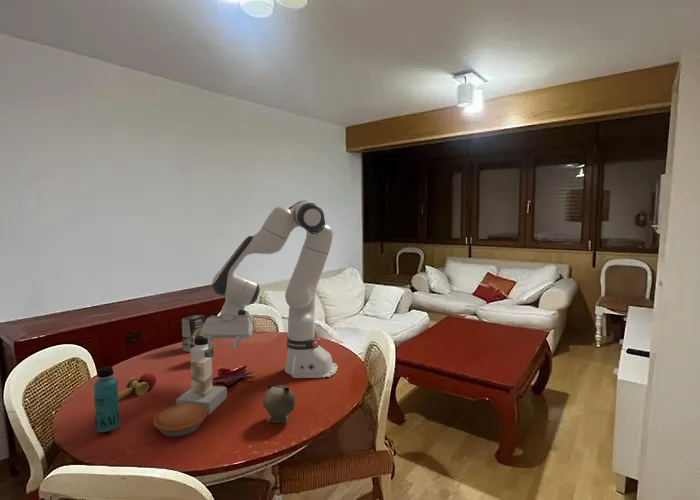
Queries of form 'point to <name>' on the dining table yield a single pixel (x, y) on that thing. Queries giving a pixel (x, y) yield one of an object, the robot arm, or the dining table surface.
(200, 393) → the ash block
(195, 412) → the pie
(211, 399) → the grey base block
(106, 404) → the beverage bottle
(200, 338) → the medicine bottle
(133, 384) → the kendama
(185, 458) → the dining table surface
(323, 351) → the robot arm
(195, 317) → the coffee box
